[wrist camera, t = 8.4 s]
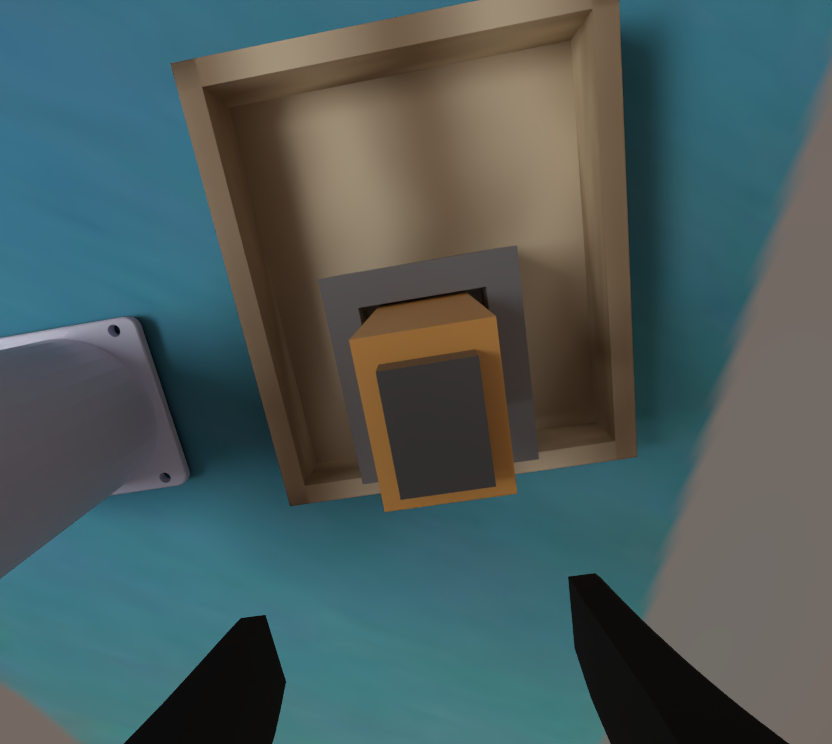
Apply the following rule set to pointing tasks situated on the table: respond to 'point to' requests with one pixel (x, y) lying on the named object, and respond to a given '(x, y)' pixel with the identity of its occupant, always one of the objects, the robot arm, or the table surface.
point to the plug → (434, 401)
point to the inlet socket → (472, 272)
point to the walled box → (425, 205)
